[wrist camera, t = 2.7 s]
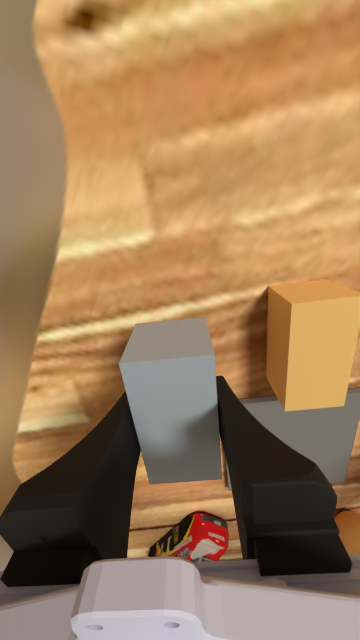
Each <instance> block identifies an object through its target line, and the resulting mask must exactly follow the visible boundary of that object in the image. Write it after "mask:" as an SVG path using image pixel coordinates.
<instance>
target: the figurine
mask: <svg viewBox="0 0 360 640" xmlns="http://www.w3.org/2000/svg"><path fill="white" fill-rule="evenodd" d="M334 520H335V522H336V524H337V526H338V528H339V531H340V533H339V534H338V535H339V537H340V539H341V541H342V543H343V545H344V547H345V549H346V551H347V553H349V554H350V555H352V554H360V515H359V514H357V513H354V512H351V511H342V512H340V513H338V514H337V515H336V517H335V519H334Z"/></svg>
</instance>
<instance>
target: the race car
mask: <svg viewBox="0 0 360 640" xmlns="http://www.w3.org/2000/svg"><path fill="white" fill-rule="evenodd" d="M228 538H229V533H228V526H227V523H226V521H224V520H223V521H222V520H220V519H218V518H216V517H213V516H209V514H208V515H207V514H203V513H196V514H192V515H190V516H189V515H187V517H185V518H184V519H182V522H181V524H180V523H179V524H178V525H177V526H176V527H175V528H174V529H173V530H171V531H170V532H169V533H168V534H167V535H166V536H165V537H163V538H162V539H161V540H160V541H159V542H158V543H155V544H154V545H153V546H152V547H151V548H150V552H149V555H148V557H161V556H171V557H181V558H184V559H186V560H189V561H191V562H206V561H218V560H219V559H220V557H221V556H222V555H223V554H224V553H225V551H226V550H227V547H228V541H229V539H228Z"/></svg>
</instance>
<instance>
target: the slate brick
mask: <svg viewBox="0 0 360 640" xmlns="http://www.w3.org/2000/svg"><path fill="white" fill-rule="evenodd" d="M119 367H120V371H121V374H122V378H123V382H124V386H125V390H126V394H127V398H128V402H129V405H130V409H131V413H132V417H133V421H134V425H135V429H136V433H137V436H138V440H139V444H140V448H141V452H142V456H143V460H144V464H145V467H146V471H147V475H148V479H149V483H150V484H160V483H174V482H188V481H202V480H216V479H222V470H221V454H220V437H219V420H218V403H217V386H216V369H215V354H214V350H213V346H212V343H211V339H210V335H209V331H208V327H207V323H206V319H205V317H200V318H190V319H180V320H170V321H160V322H151V323H141V324H135V327H134V329H133V331H132V334H131V336H130V338H129V341H128V343H127V345H126V348H125V350H124V352H123V355H122V357H121V360H120V362H119Z"/></svg>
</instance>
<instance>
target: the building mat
mask: <svg viewBox="0 0 360 640" xmlns="http://www.w3.org/2000/svg"><path fill="white" fill-rule="evenodd" d="M239 400H240V402H241V403H242V404H243V405H244V406H245V408H246V409H247V410H248V411H249V412H250V413H251V414H252V415H253V416H254V417H255V418H256V419H257V420H258V421H259V422H260V423H261V424H262V425H263V426H264V427H265V428H267V429H268V430H269V431H270V432H271V433H273V434H274V435H275V436H276V437H278V438H279V439H280V440H281V441H283V442H284V443H285V444H287V445H288V446H289V447H291V448H292V449H294V450H295V451H297V452H298V453H300V454H302V455H303V456H305V457H306V458H308V459H310V460H311V461H313V462H315V463H316V464H317V466H318V467H319V468H320V470H321V471H322V472H323V474H324V475H325V477H326V478H327V479H328V481H329V483H342V482H344V481H345V477H346V473H347V468H348V464H349V460H350V456H351V451H352V447H353V443H354V439H355V434H356V430H357V426H358V422H359V417H360V387H359V388H349V389H347V394H346V399H345V404H344V406H340V407H329V408H318V409H307V410H296V411H284V409H283V407H282V406H281V404H280V402H279V400H278V398H277V396H266V397H256V398H246V399H239ZM225 457H226V456H225ZM226 469H227V481H228V489H229V491H232V488H231V482H230V476H229V470H228V465H227V460H226Z"/></svg>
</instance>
